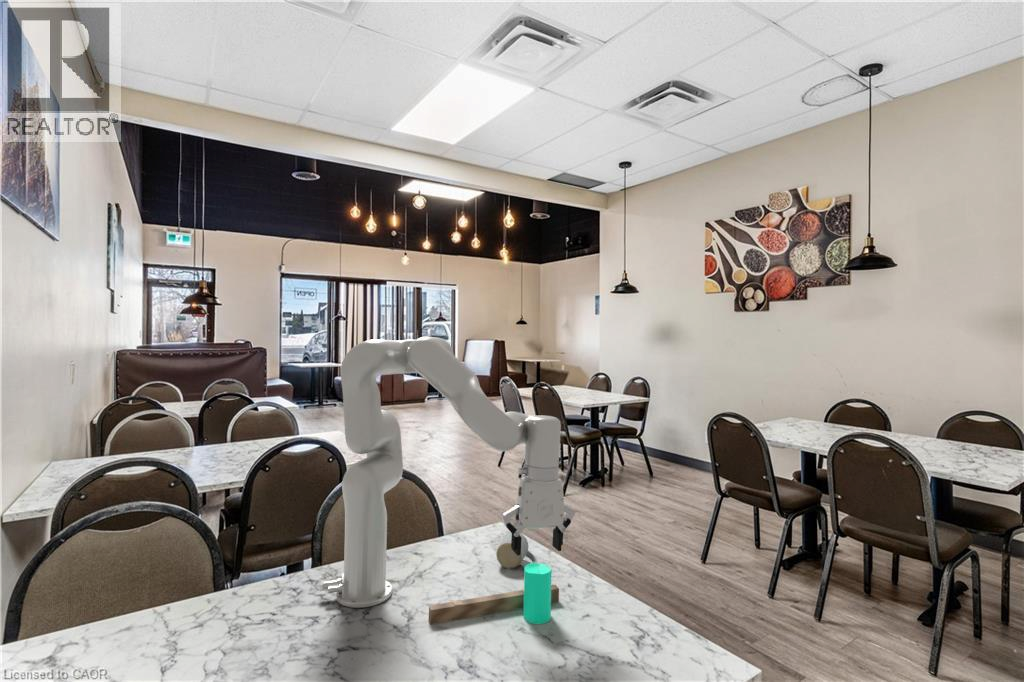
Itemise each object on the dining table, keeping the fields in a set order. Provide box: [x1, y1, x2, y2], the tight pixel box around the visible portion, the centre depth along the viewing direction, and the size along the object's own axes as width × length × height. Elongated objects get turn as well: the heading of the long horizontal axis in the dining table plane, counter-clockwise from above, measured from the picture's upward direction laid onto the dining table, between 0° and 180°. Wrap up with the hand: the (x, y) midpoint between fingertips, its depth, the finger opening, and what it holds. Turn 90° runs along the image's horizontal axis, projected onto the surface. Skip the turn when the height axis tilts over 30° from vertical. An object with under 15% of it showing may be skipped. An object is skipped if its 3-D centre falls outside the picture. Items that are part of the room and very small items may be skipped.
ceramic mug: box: [496, 531, 538, 570], centre depth 135 cm, size 11×8×8 cm
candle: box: [523, 562, 552, 625], centre depth 109 cm, size 6×6×12 cm
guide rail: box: [428, 584, 560, 625], centre depth 111 cm, size 30×2×3 cm, turn 111°
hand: (536, 550), depth 109 cm, fingers open, 9 cm apart
